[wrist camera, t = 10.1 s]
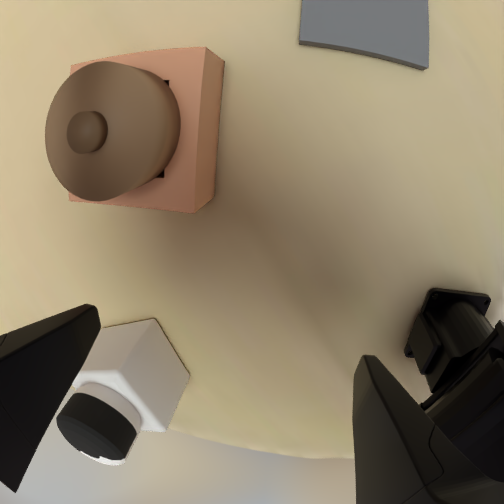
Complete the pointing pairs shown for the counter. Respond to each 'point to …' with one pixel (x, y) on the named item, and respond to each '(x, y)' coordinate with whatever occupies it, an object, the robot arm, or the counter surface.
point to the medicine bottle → (123, 391)
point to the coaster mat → (369, 28)
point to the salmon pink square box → (191, 133)
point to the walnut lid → (111, 130)
